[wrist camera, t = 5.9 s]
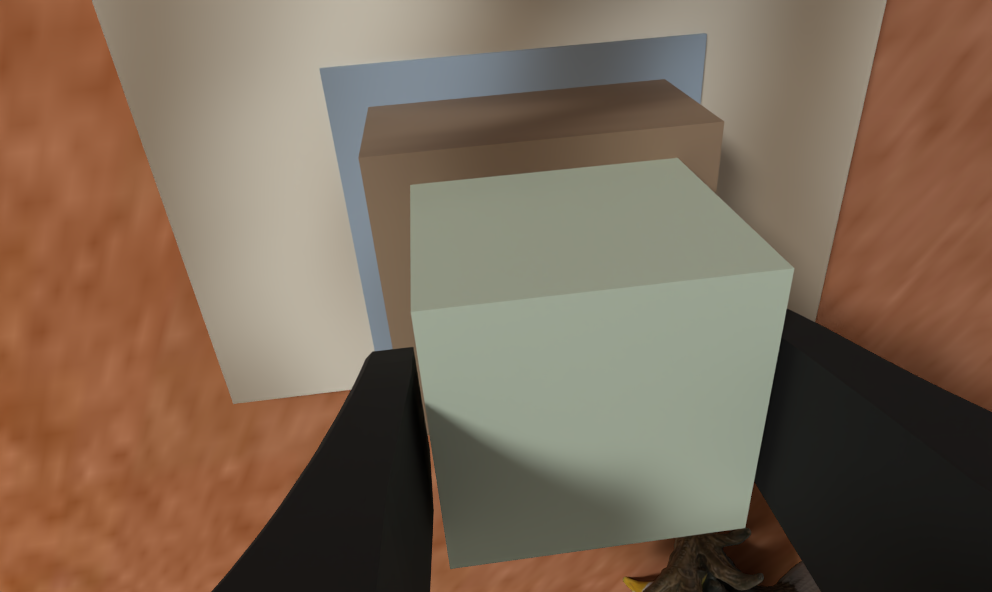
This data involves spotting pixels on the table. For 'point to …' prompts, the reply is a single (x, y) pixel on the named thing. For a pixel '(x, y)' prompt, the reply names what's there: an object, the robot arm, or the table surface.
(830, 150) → the build plate
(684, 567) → the eagle figurine
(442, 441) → the green block
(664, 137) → the walnut block
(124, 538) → the table surface
